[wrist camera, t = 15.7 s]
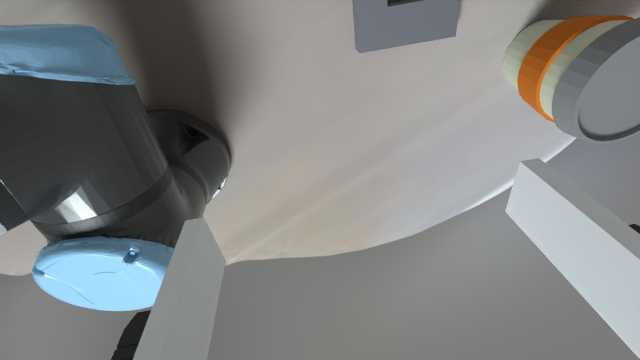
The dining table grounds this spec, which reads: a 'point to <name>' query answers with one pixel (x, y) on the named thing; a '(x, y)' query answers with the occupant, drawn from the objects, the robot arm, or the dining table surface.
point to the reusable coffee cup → (580, 75)
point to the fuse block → (402, 22)
